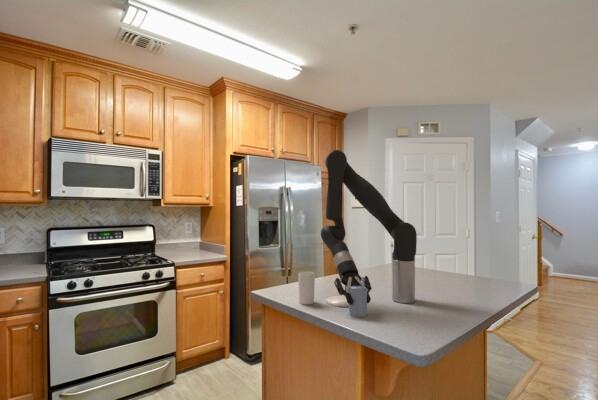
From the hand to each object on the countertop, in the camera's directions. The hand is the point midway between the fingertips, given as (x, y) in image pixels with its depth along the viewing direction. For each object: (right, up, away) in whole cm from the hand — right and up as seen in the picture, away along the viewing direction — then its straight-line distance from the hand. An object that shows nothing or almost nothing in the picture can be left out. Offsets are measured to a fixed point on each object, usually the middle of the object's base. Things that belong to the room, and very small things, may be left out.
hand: (360, 302), depth 118 cm
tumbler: (-1, -5, +1) cm, 5 cm away
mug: (-20, -5, +18) cm, 27 cm away
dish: (-5, -5, +17) cm, 18 cm away
